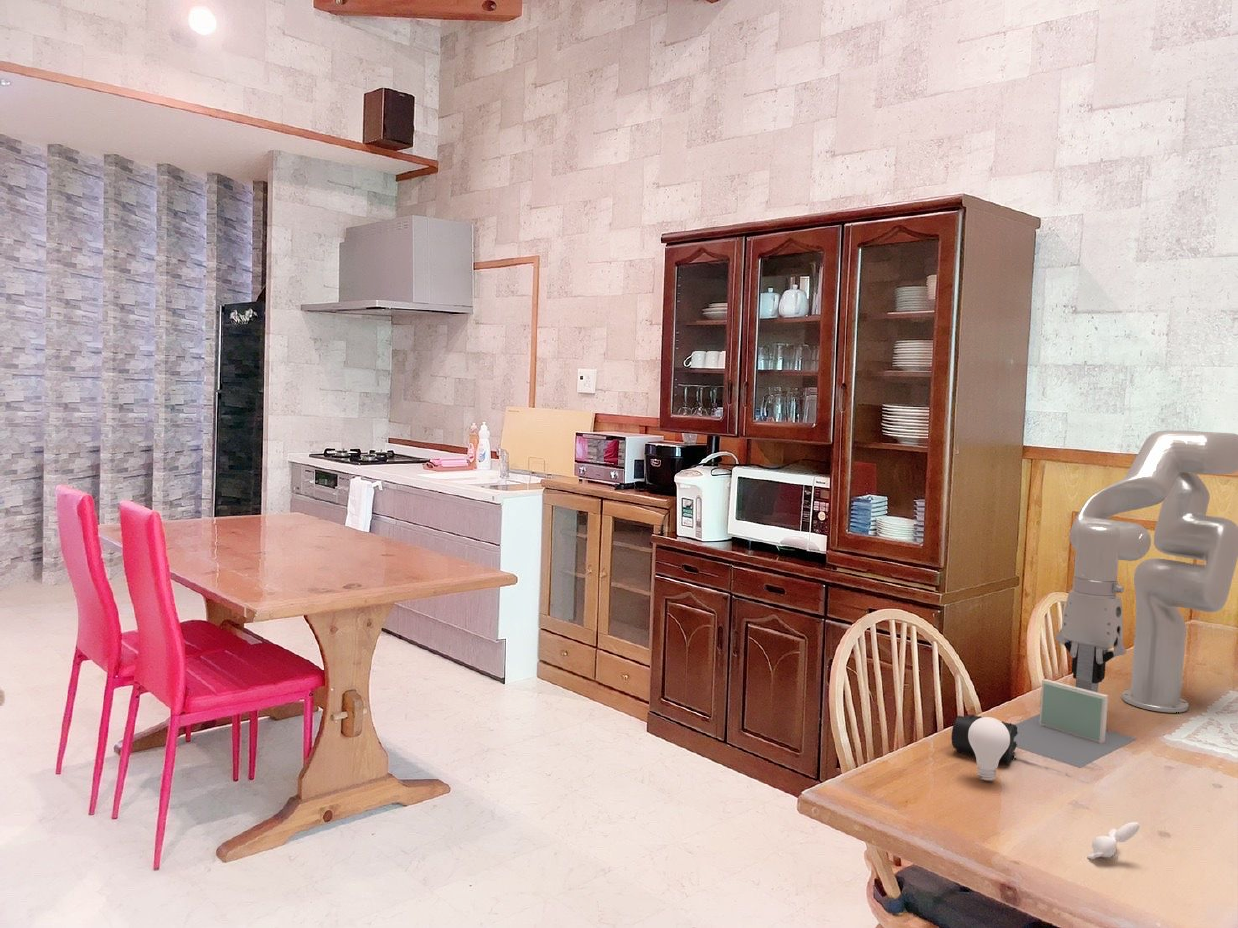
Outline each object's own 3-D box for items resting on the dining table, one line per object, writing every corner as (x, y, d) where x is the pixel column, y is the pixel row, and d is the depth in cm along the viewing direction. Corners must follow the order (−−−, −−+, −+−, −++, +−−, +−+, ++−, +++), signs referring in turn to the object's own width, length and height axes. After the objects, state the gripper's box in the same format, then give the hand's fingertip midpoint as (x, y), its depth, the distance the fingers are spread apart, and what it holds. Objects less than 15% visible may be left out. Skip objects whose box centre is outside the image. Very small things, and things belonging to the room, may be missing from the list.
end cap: (949, 755, 172) (952, 719, 172) (962, 744, 178) (964, 709, 177) (1007, 770, 166) (1009, 733, 166) (1018, 758, 172) (1020, 722, 171)
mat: (1044, 716, 195) (1045, 712, 195) (1137, 743, 181) (1137, 738, 181) (983, 741, 180) (983, 736, 179) (1079, 773, 166) (1079, 767, 166)
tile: (1042, 723, 188) (1045, 678, 187) (1104, 741, 179) (1108, 695, 178) (1038, 724, 187) (1041, 680, 186) (1100, 743, 178) (1104, 696, 177)
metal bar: (1081, 691, 188) (1086, 632, 187) (1097, 695, 186) (1102, 635, 185) (1074, 694, 186) (1079, 634, 185) (1090, 698, 184) (1095, 637, 183)
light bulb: (987, 792, 157) (992, 727, 156) (956, 776, 162) (960, 714, 162) (1015, 785, 160) (1020, 721, 159) (984, 770, 166) (988, 709, 165)
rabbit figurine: (1072, 850, 137) (1109, 819, 140) (1091, 875, 136) (1128, 843, 138) (1094, 846, 132) (1132, 814, 134) (1115, 872, 131) (1152, 838, 133)
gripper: (1147, 593, 180) (1139, 687, 182) (1061, 577, 193) (1055, 666, 194) (1130, 597, 175) (1122, 694, 177) (1043, 581, 188) (1037, 672, 189)
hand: (1087, 678), depth 186 cm, fingers closed on metal bar, 3 cm apart
